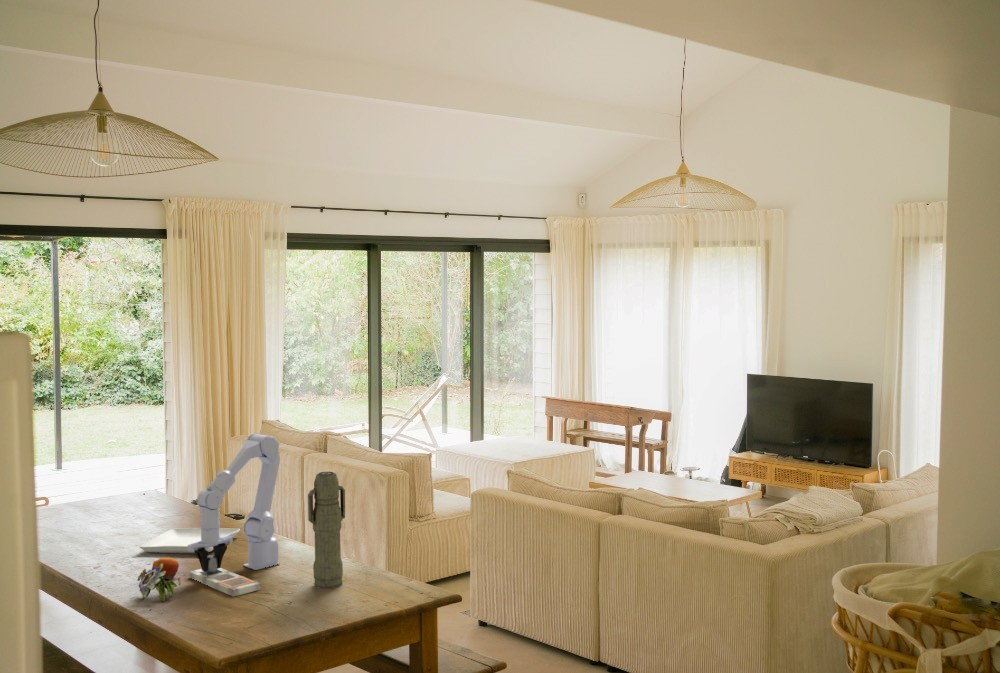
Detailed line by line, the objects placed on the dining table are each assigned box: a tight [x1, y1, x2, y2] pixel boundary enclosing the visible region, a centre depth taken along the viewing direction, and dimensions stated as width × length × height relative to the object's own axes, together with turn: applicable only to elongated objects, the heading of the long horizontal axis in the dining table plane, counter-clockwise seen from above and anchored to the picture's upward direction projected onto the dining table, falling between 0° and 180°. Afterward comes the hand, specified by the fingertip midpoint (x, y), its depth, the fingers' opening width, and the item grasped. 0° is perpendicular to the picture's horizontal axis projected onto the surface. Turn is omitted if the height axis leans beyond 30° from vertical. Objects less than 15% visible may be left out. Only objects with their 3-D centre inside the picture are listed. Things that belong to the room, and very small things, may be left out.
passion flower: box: [137, 563, 182, 602], centre depth 278 cm, size 11×11×12 cm
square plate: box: [139, 527, 241, 554], centre depth 336 cm, size 27×27×4 cm
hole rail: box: [188, 567, 261, 597], centre depth 290 cm, size 9×28×2 cm, turn 45°
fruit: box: [151, 557, 180, 581], centre depth 296 cm, size 8×8×8 cm
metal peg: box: [205, 554, 218, 576], centre depth 296 cm, size 4×4×7 cm
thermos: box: [307, 471, 346, 589], centre depth 287 cm, size 9×12×35 cm
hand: (211, 569), depth 296 cm, fingers closed on metal peg, 4 cm apart
